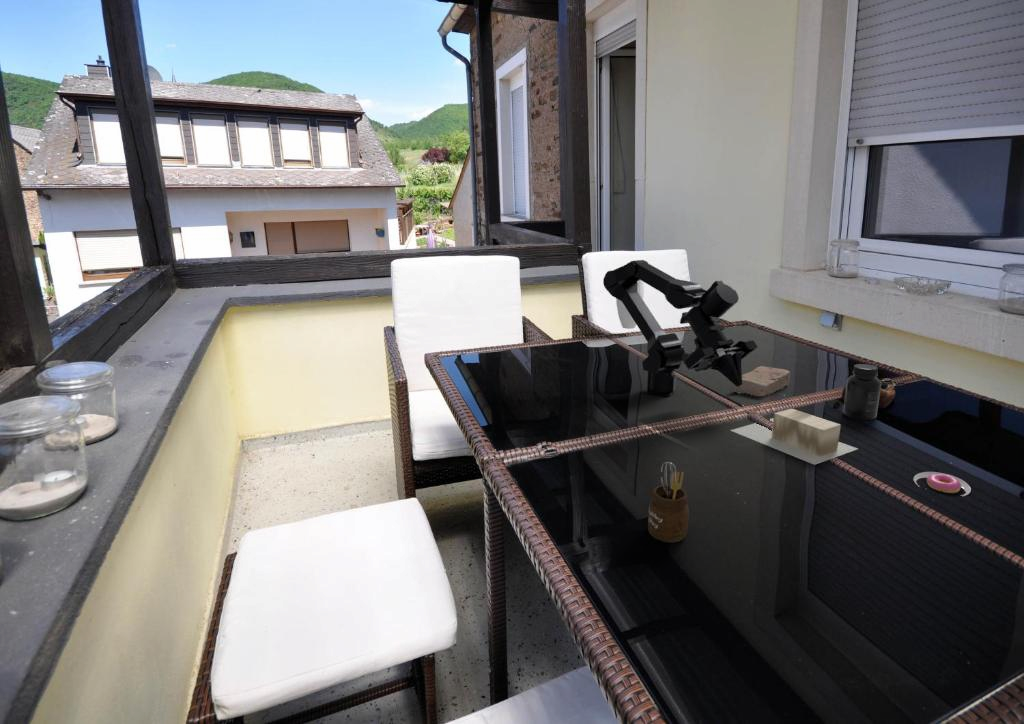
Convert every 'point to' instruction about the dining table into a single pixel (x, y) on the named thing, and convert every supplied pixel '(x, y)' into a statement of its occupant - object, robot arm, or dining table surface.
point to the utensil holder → (669, 511)
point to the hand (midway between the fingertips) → (739, 385)
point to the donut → (943, 482)
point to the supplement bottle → (862, 393)
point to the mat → (765, 437)
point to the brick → (763, 381)
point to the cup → (623, 312)
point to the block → (806, 431)
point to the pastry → (881, 395)
